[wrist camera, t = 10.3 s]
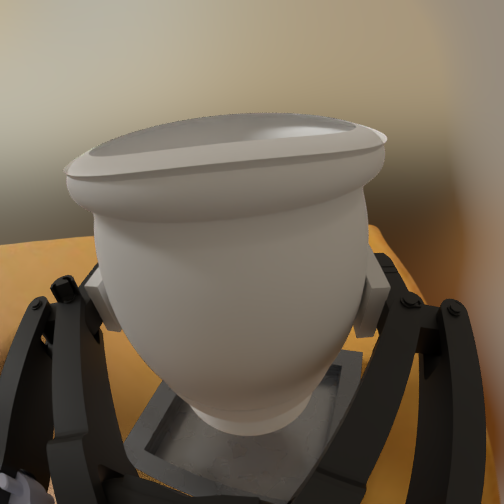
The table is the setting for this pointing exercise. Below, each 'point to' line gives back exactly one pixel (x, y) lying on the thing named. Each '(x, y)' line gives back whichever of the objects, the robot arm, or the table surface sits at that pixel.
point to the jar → (234, 254)
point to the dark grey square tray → (240, 442)
